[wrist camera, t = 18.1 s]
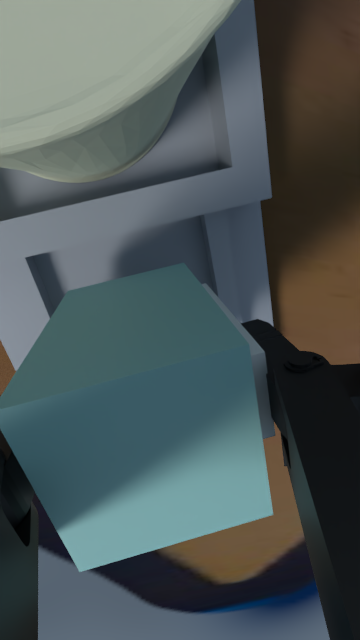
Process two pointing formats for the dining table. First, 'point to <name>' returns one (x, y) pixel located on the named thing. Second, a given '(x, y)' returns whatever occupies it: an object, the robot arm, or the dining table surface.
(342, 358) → the dining table surface
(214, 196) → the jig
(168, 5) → the can
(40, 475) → the block
